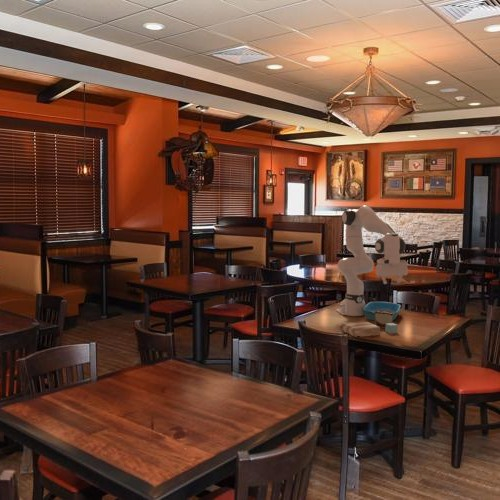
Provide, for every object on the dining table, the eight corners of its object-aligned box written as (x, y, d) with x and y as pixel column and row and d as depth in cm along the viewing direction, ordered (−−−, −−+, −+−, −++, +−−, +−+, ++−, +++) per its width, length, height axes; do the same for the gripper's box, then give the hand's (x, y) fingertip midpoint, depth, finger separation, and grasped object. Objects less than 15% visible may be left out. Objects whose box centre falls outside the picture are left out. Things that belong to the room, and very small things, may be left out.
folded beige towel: (341, 330, 333) (342, 322, 332) (365, 329, 338) (365, 321, 337) (355, 337, 318) (355, 329, 317) (379, 335, 323) (379, 327, 322)
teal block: (385, 331, 331) (385, 323, 330) (392, 331, 332) (392, 322, 332) (390, 333, 326) (390, 325, 325) (397, 333, 328) (397, 324, 327)
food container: (396, 327, 342) (396, 311, 341) (393, 329, 337) (393, 312, 336) (376, 324, 348) (377, 308, 347) (373, 326, 343) (374, 310, 342)
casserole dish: (395, 324, 350) (396, 313, 349) (360, 321, 358) (360, 310, 357) (402, 313, 384) (402, 302, 383) (369, 310, 392) (369, 300, 391)
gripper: (403, 259, 334) (403, 282, 335) (374, 260, 327) (374, 283, 328) (410, 260, 328) (410, 283, 329) (380, 261, 321) (380, 284, 322)
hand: (392, 283), depth 329 cm, fingers open, 8 cm apart
